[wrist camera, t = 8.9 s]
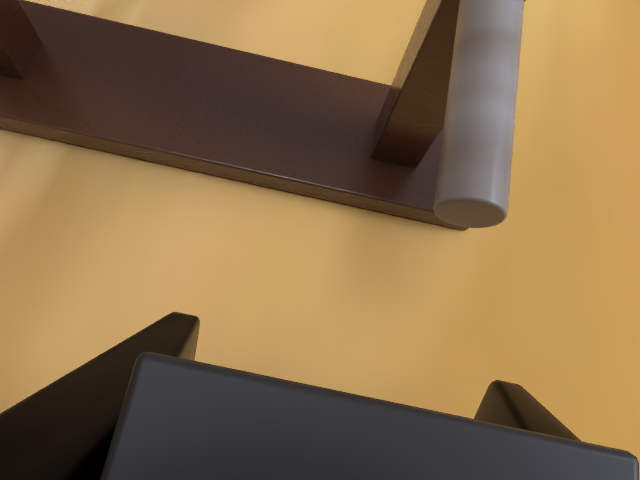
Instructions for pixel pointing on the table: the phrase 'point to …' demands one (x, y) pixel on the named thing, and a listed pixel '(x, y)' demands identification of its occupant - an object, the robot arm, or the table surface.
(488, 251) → the table surface
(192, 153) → the rack
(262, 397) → the black piece
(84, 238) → the table surface
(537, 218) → the table surface
